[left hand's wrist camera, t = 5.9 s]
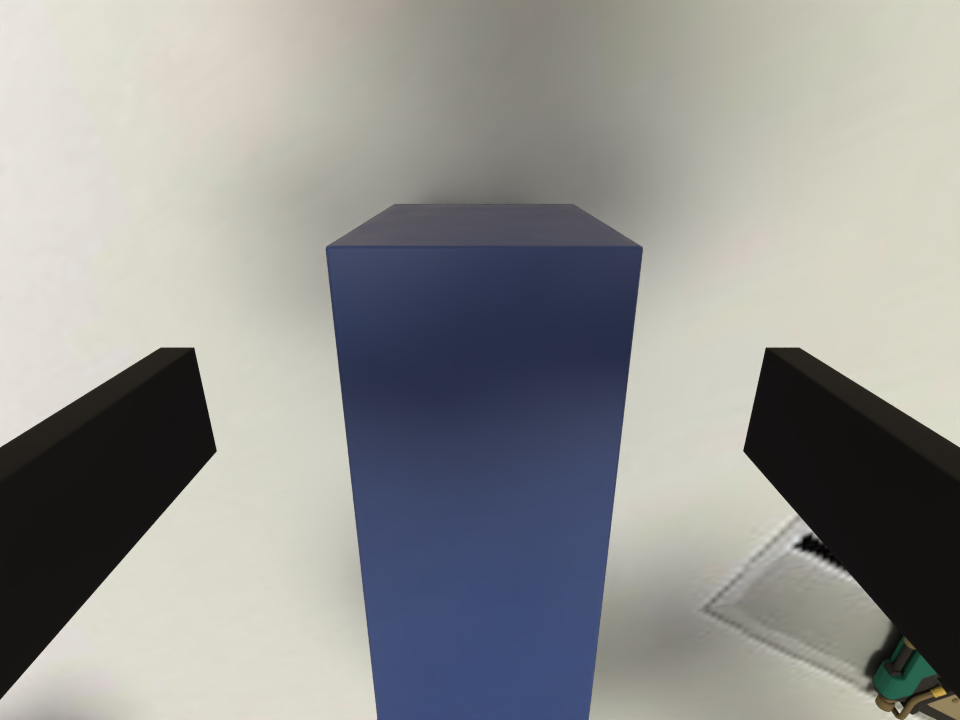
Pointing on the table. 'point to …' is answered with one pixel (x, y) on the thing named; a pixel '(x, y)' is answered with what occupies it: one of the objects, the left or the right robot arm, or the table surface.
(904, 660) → the spray gun
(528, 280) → the box
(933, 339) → the table surface
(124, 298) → the table surface
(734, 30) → the table surface
